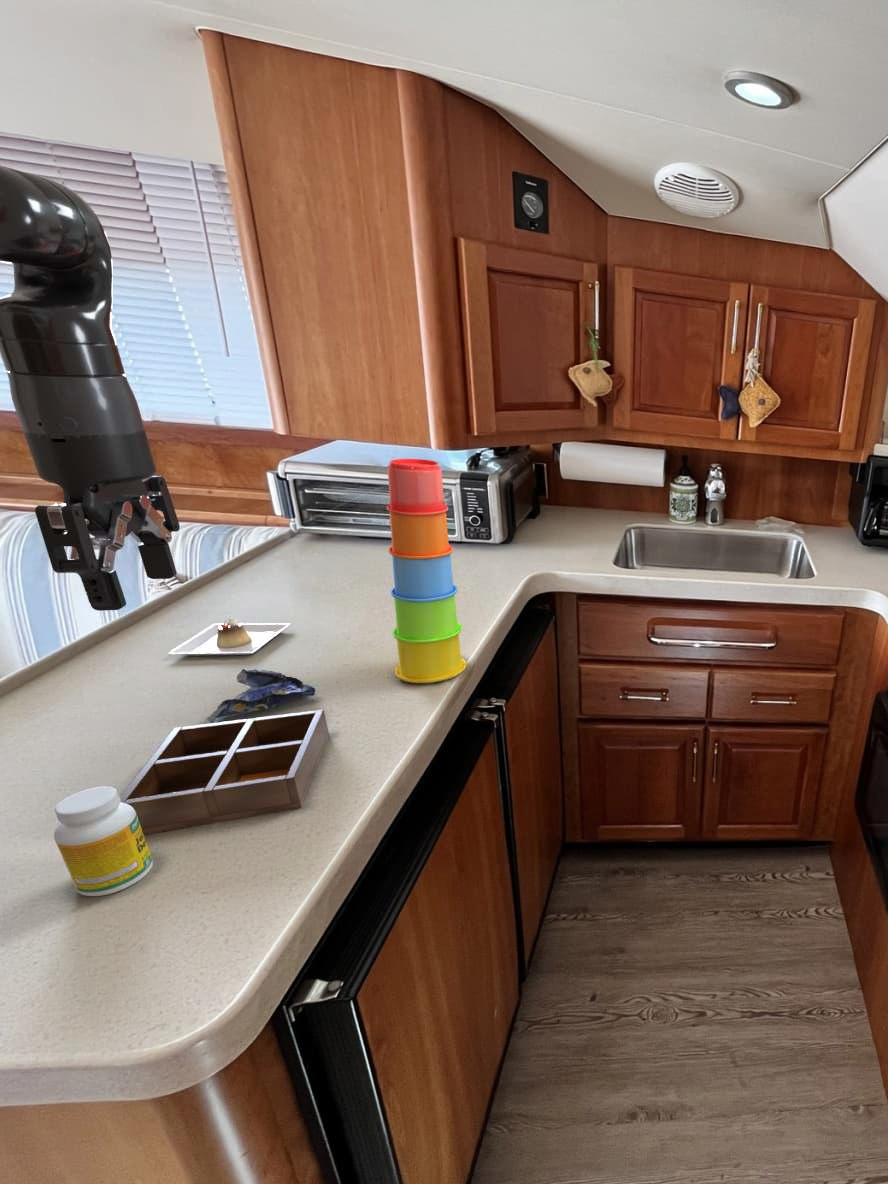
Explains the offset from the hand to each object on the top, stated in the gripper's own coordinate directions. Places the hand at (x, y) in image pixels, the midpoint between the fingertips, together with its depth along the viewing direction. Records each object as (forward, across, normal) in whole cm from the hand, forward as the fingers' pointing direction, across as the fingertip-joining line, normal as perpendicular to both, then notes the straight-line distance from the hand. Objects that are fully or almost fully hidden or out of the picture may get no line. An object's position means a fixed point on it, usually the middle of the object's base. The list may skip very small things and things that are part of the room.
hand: (138, 592), depth 63 cm
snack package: (+27, -23, -3) cm, 36 cm away
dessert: (+27, -46, -16) cm, 56 cm away
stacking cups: (+27, -31, +17) cm, 45 cm away
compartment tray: (+27, -5, +1) cm, 27 cm away
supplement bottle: (+27, +10, -3) cm, 29 cm away
